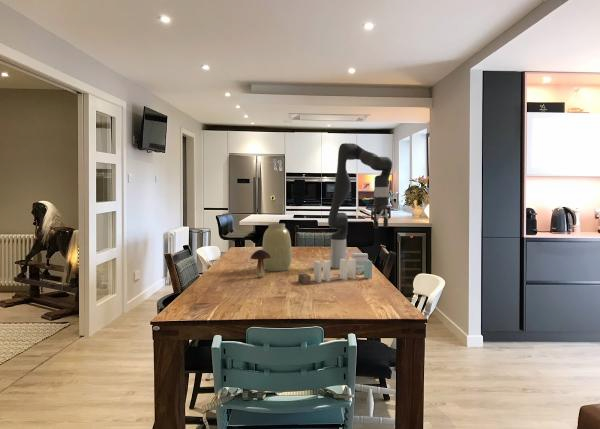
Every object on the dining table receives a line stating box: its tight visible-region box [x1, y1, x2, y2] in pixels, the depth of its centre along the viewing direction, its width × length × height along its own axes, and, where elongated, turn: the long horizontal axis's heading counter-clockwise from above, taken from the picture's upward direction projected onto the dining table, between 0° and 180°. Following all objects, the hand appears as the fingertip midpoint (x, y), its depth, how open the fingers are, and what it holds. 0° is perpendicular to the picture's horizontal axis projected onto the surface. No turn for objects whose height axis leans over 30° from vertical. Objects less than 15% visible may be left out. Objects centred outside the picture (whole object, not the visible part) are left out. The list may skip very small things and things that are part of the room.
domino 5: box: [363, 259, 373, 280], centre depth 233 cm, size 5×2×10 cm, turn 25°
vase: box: [261, 222, 292, 272], centre depth 262 cm, size 17×17×27 cm
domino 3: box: [339, 259, 348, 280], centre depth 230 cm, size 5×2×10 cm, turn 25°
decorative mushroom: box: [250, 249, 271, 279], centre depth 238 cm, size 11×11×15 cm
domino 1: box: [313, 260, 322, 282], centre depth 224 cm, size 5×2×10 cm, turn 25°
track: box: [293, 272, 363, 286], centre depth 227 cm, size 10×35×5 cm, turn 115°
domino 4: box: [347, 257, 357, 279], centre depth 232 cm, size 5×2×10 cm, turn 25°
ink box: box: [351, 252, 369, 275], centre depth 247 cm, size 9×5×12 cm, turn 84°
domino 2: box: [322, 259, 331, 282], centre depth 226 cm, size 5×2×10 cm, turn 25°
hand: (380, 227), depth 229 cm, fingers open, 8 cm apart
